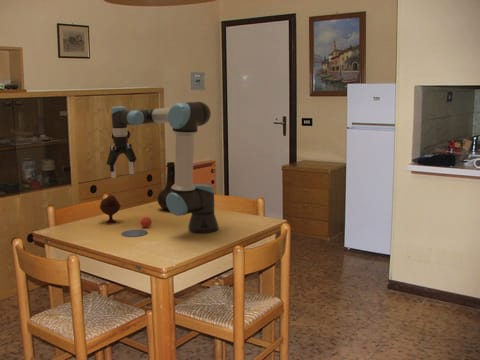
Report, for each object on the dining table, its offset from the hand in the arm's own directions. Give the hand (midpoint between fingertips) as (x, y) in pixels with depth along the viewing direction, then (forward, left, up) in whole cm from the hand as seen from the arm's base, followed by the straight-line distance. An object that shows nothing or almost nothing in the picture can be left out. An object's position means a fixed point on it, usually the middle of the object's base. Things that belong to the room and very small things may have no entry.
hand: (122, 175), depth 302 cm
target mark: (-22, +13, -25) cm, 36 cm away
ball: (-17, +1, -23) cm, 29 cm away
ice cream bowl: (+7, +4, -26) cm, 27 cm away
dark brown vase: (0, -37, -26) cm, 45 cm away
